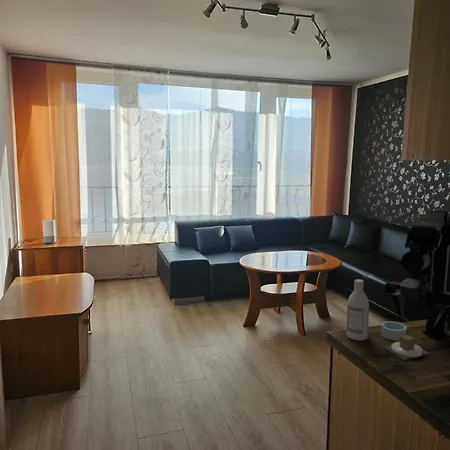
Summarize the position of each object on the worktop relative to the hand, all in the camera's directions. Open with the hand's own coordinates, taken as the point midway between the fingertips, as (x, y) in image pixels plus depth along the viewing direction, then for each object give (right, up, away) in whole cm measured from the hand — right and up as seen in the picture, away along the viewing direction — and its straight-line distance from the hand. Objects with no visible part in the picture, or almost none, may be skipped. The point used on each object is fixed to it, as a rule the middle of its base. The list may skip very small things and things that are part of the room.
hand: (416, 322), depth 116 cm
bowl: (+3, -10, +23) cm, 25 cm away
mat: (+2, -12, +11) cm, 16 cm away
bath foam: (-10, -11, +23) cm, 27 cm away
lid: (+2, -11, +11) cm, 16 cm away
